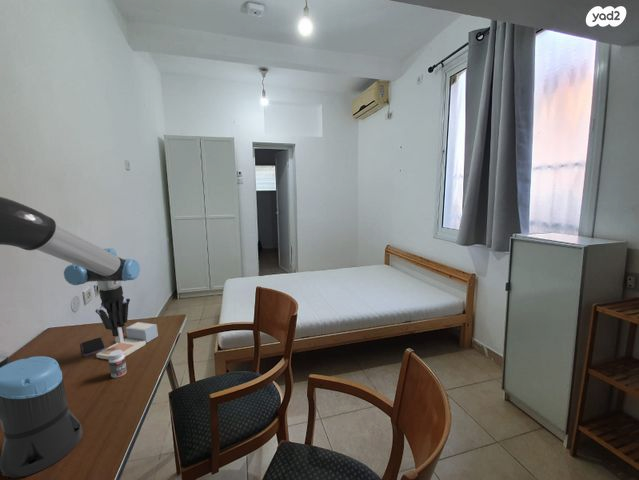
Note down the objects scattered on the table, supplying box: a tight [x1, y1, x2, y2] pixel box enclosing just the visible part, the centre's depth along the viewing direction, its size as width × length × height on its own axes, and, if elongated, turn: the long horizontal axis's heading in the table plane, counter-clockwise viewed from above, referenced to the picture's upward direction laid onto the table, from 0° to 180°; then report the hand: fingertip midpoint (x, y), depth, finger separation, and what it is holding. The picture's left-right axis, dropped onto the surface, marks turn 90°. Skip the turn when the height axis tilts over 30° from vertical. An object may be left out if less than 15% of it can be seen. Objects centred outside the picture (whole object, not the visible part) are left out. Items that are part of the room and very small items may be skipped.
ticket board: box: [95, 337, 147, 361], centre depth 120 cm, size 13×11×2 cm
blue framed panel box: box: [125, 321, 159, 344], centre depth 129 cm, size 6×11×6 cm, turn 73°
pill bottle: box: [108, 350, 128, 379], centre depth 104 cm, size 5×5×8 cm
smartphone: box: [80, 337, 106, 357], centre depth 124 cm, size 7×1×15 cm
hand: (119, 342), depth 119 cm, fingers closed
